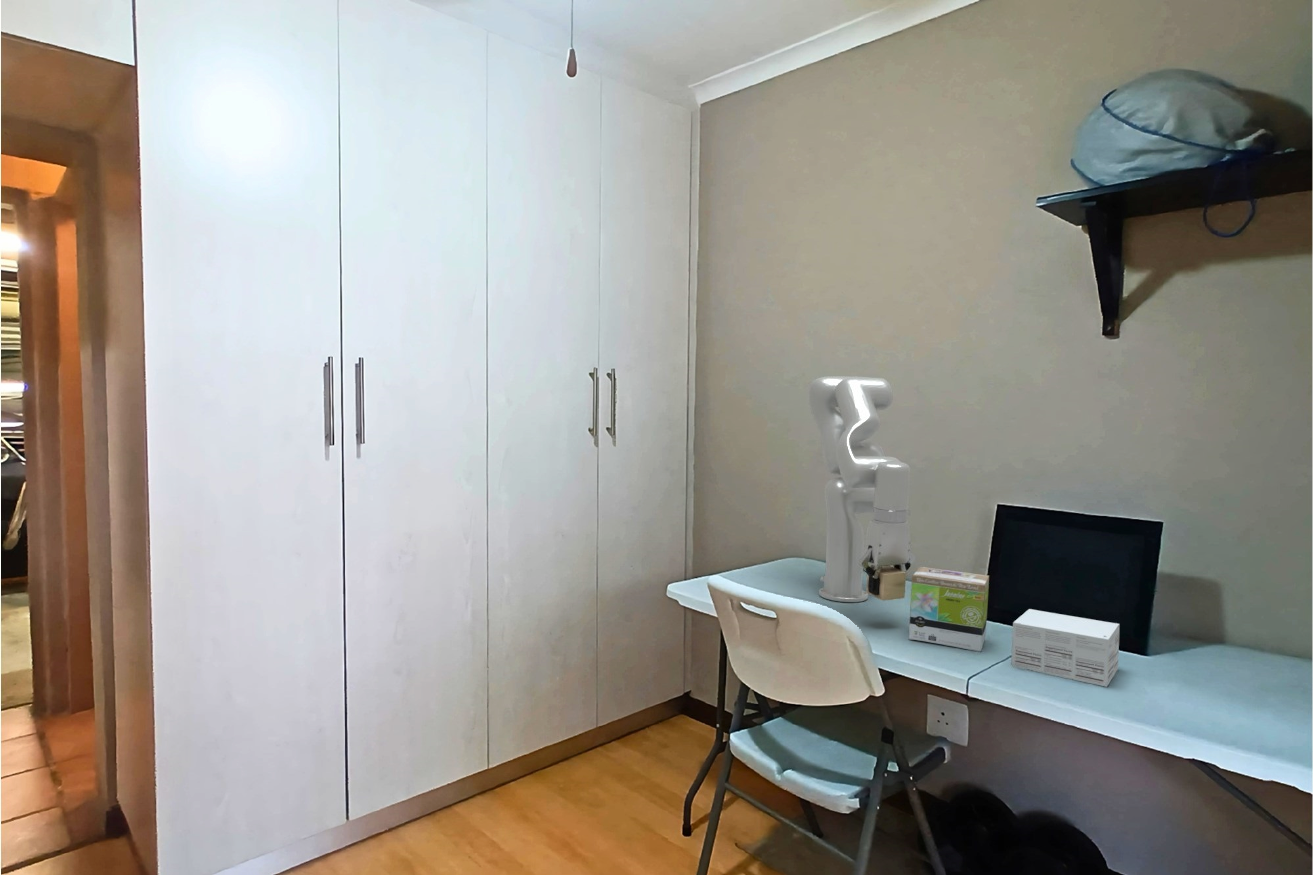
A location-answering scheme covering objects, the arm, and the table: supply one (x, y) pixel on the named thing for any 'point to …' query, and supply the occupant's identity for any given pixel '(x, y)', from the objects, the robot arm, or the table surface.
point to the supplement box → (1066, 646)
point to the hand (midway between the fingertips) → (885, 591)
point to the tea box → (949, 608)
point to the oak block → (890, 583)
